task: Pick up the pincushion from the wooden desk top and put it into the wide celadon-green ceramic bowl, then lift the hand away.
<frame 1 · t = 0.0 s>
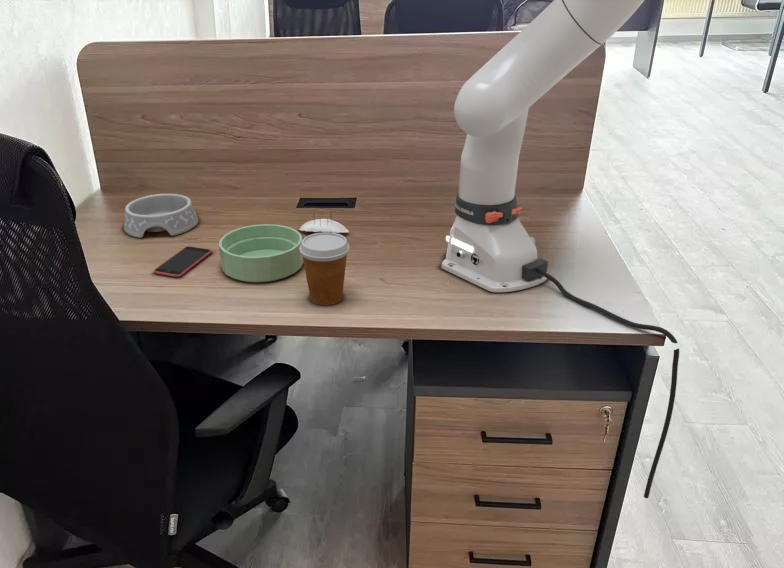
smartphone: (183, 263, 160), on the table
bowl: (262, 265, 157), on the table
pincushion: (323, 233, 170), on the table
dog bowl: (161, 225, 180), on the table
disposable coffee cup: (326, 298, 143), on the table
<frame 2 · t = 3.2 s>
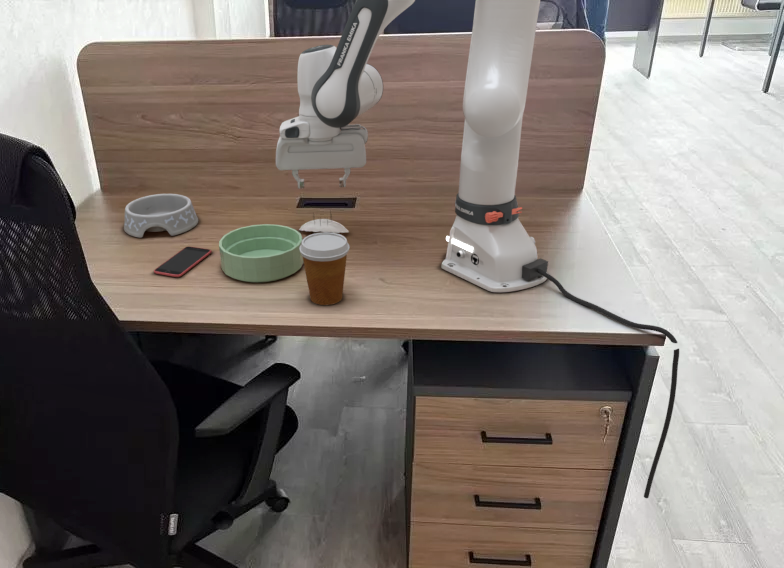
hand: (321, 187, 165), 11 cm above the table, tool pointing down, fingers open, 8 cm apart
nothing on the table moved.
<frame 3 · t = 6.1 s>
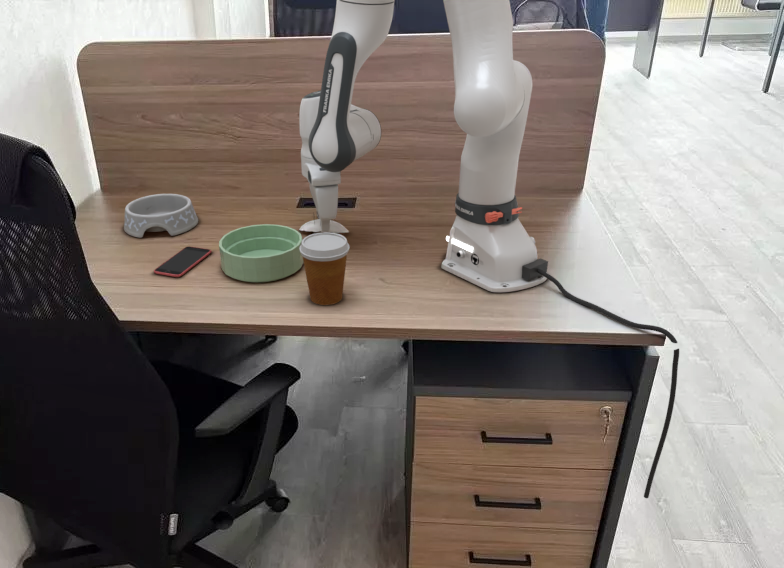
hand: (323, 224, 169), 2 cm above the table, tool pointing down, fingers closed on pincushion, 6 cm apart
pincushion: (323, 233, 170), on the table, touching gripper
everything else where it was.
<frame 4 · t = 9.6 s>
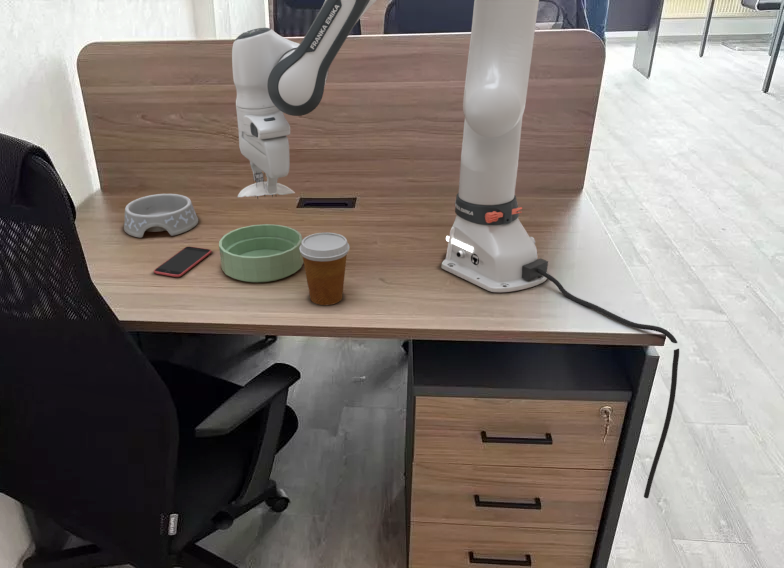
hand: (265, 187, 149), 17 cm above the table, tool pointing down, fingers closed on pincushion, 6 cm apart
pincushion: (266, 198, 151), point 14 cm above the table, touching gripper
everything else where it was.
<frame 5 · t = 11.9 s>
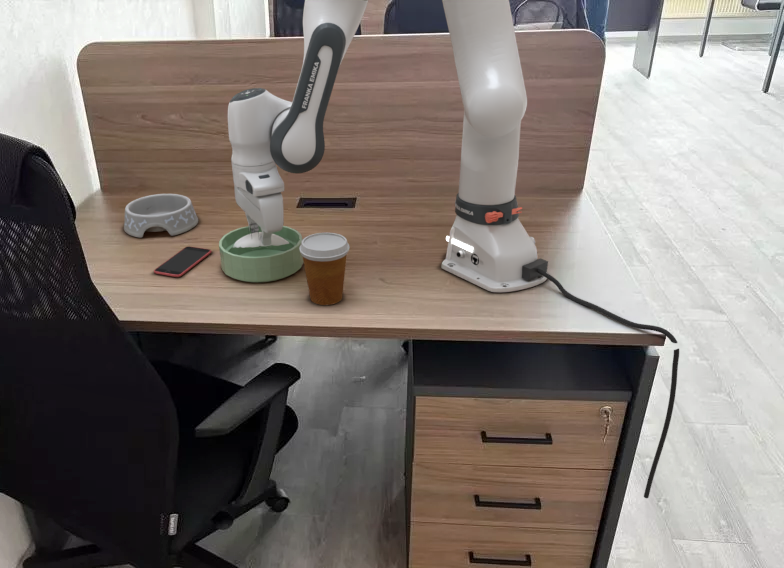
hand: (260, 237, 153), 6 cm above the table, tool pointing down, fingers closed on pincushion, 6 cm apart
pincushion: (261, 248, 154), point 4 cm above the table, touching gripper
everything else where it was.
when the fingers open (3 cm above the table, at t = 13.4 s): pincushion stays where it is, resting on bowl.
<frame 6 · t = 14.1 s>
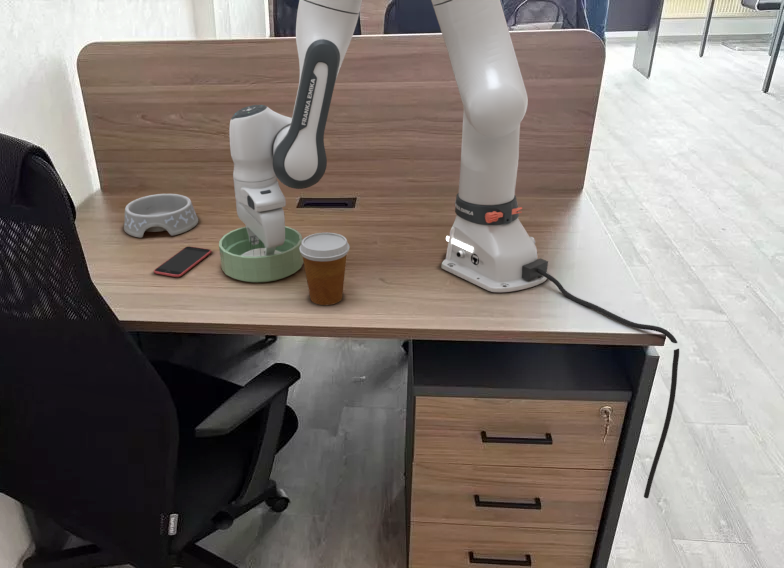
hand: (261, 251, 155), 3 cm above the table, tool pointing down, fingers open, 8 cm apart
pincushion: (263, 264, 156), resting on bowl
everything else where it was.
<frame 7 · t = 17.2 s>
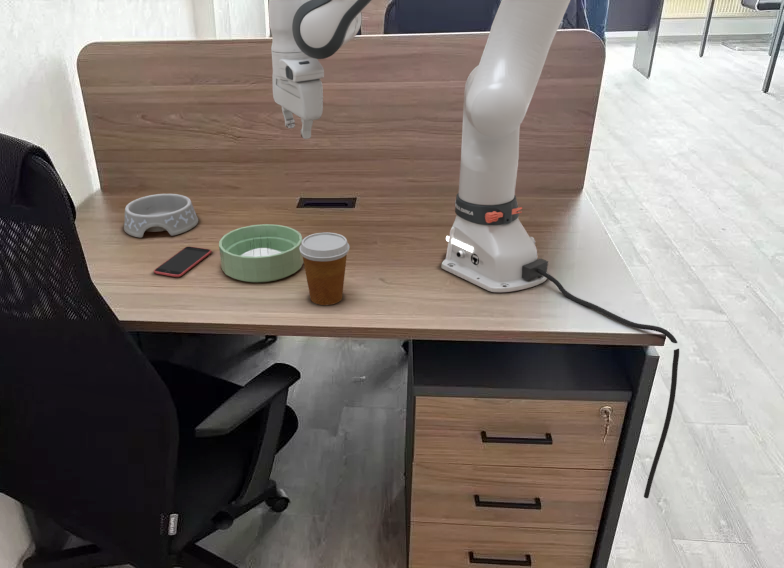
hand: (297, 132, 155), 25 cm above the table, tool pointing down, fingers open, 8 cm apart
nothing on the table moved.
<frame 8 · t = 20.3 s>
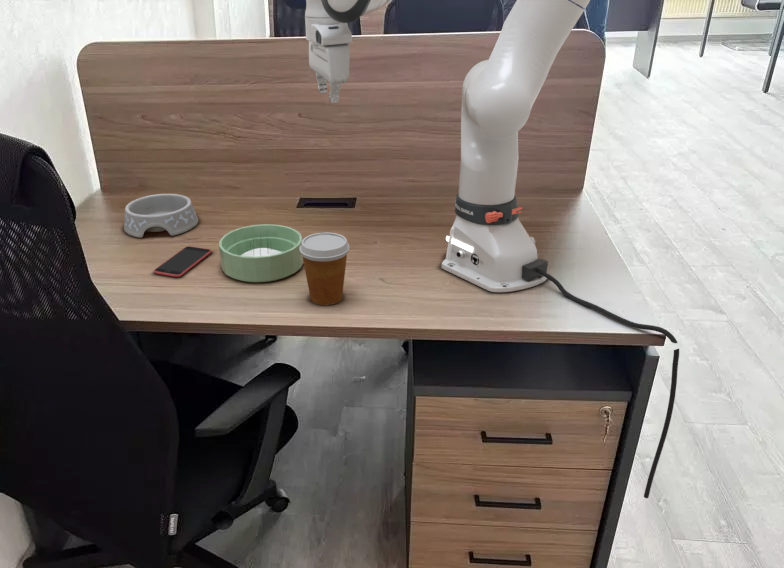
hand: (328, 97, 161), 29 cm above the table, tool pointing down, fingers open, 8 cm apart
nothing on the table moved.
at the end: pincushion inside the target area in the bowl (0.1 cm from its centre), point 0.4 cm above the bowl's base; the gripper is holding nothing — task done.
